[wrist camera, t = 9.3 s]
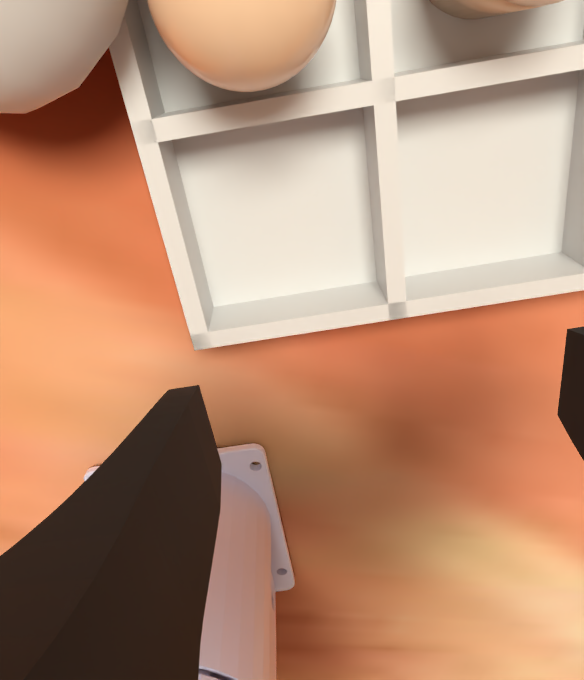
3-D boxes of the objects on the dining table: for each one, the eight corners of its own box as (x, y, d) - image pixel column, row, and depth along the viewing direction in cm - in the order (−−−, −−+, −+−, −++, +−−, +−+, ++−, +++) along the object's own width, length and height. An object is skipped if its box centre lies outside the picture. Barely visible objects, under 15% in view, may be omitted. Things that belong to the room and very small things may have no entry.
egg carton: (752, 231, 19) (816, 254, 17) (202, 317, 20) (194, 350, 17) (909, -331, 12) (1049, -416, 10) (75, -166, 13) (35, -212, 11)
